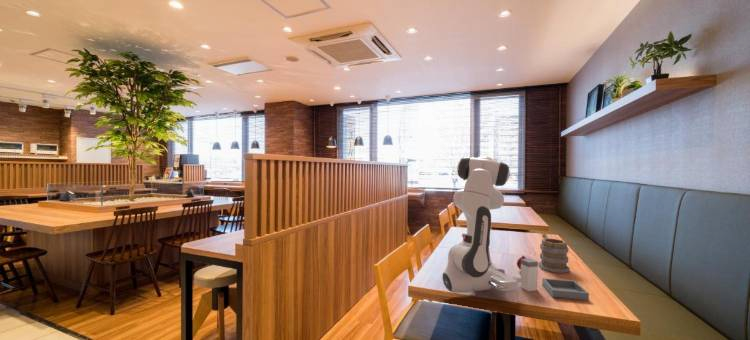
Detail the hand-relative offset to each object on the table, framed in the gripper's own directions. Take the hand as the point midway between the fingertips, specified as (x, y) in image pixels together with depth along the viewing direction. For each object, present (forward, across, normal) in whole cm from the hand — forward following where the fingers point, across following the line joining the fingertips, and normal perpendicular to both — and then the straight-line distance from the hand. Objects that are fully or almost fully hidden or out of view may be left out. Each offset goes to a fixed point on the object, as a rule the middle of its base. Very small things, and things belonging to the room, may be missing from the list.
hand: (511, 275), depth 126 cm
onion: (+21, +17, +7) cm, 28 cm away
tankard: (+40, +21, +7) cm, 46 cm away
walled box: (+20, -7, +6) cm, 22 cm away
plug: (+9, 0, +6) cm, 11 cm away
